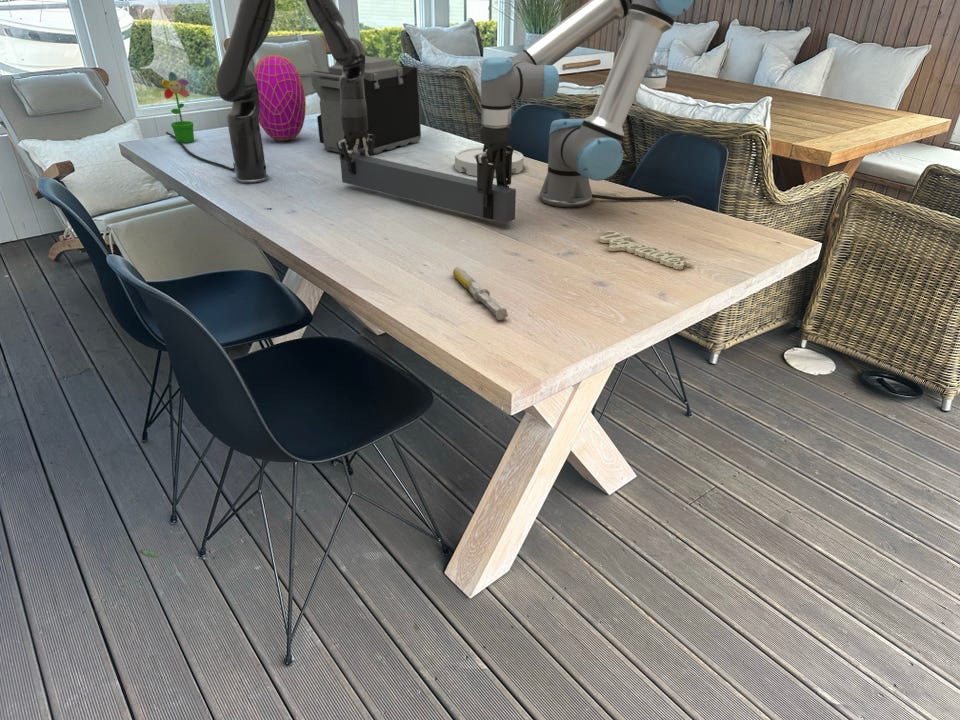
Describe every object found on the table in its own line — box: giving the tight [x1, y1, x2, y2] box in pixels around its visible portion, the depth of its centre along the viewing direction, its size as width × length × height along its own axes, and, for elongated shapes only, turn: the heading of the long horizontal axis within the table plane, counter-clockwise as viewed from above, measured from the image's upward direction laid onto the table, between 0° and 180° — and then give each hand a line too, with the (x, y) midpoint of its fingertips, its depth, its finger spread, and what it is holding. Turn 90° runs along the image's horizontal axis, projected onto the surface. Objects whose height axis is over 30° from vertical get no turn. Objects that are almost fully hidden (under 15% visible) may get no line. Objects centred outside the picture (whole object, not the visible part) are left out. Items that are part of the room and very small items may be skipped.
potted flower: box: [160, 71, 195, 144], centre depth 255 cm, size 9×8×25 cm
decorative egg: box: [252, 54, 307, 142], centre depth 257 cm, size 19×19×30 cm
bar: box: [339, 154, 517, 225], centre depth 195 cm, size 61×4×8 cm, turn 53°
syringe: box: [452, 266, 509, 321], centre depth 145 cm, size 25×4×3 cm, turn 21°
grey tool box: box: [310, 55, 422, 155], centre depth 250 cm, size 37×22×30 cm, turn 144°
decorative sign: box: [599, 230, 690, 270], centre depth 167 cm, size 26×1×10 cm
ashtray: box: [454, 146, 525, 178], centre depth 232 cm, size 23×23×4 cm
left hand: (358, 172), depth 208 cm, fingers closed on bar, 4 cm apart
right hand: (493, 215), depth 183 cm, fingers closed on bar, 4 cm apart
